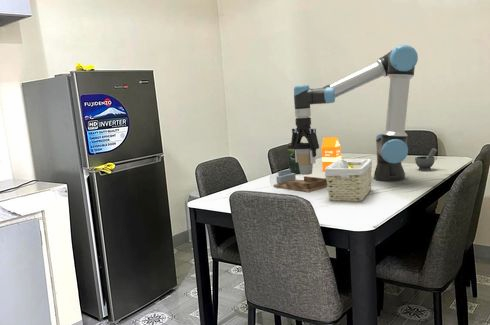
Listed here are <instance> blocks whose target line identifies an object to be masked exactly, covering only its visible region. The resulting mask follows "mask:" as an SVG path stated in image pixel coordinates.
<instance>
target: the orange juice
mask: <svg viewBox="0 0 490 325" xmlns="http://www.w3.org/2000/svg"><path fill="white" fill-rule="evenodd" d="M341 148H342V147H341V143H340V141H339V139H338V137H337V136H329V137H328V136H327V137H326V136H325V137H323V139H322V144H321V148H320V149H321V163H322V172H324V173H325V168H326V167H327V166H329V165H331V164H332V163H334V162H335V161H337V160H339V159H342V149H341Z"/></svg>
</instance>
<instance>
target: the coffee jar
mask: <svg viewBox="0 0 490 325" xmlns="http://www.w3.org/2000/svg"><path fill="white" fill-rule="evenodd" d="M300 143H304V142H302V141H301V142H300ZM287 152H288V157H289V160H288V161H289V164H288V169H291V173H295V175H301V174H300V169H299V165H298V162H296V159H295V155H294V149H293V148H291V142H289V143H288V144H287Z"/></svg>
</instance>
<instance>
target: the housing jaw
mask: <svg viewBox="0 0 490 325" xmlns="http://www.w3.org/2000/svg"><path fill="white" fill-rule="evenodd" d="M277 173H278V174H277V175H278V176H276V184H282V183H286V181H294V180H296V179H297V178H296V174H295V173H291V169H289V168H288V169H283V170H282V169H281V170H280V171H277Z"/></svg>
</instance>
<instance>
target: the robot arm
mask: <svg viewBox="0 0 490 325" xmlns="http://www.w3.org/2000/svg"><path fill="white" fill-rule="evenodd" d="M418 58H419V57H418V52H417V51H416V49H415V47H413V46H412V45H408V44H402V45H397V46H396V47H394V48H393V49H391V50H390V51H389V52H388V53H386V54H384V55H383V56H381V57H378V58H377V60H376V62H373V63H371V64H368V65H367V66H365V67H363V68H360V69H358V70H357V71H355V72H352V73H350V74H348V75H346V76H344V77H342V78H340V79H338V80H336V81H333V82H331V83H328V84H327V85H325V86H323V87H320V88H319V87H318V88H310V85H309V84H302V85H295V86H294V87H293V100H294V114H295V115H294V116H295V126H296V127H295V128H292V129H291V133H292V134H291V142H290V143H291V148H293V149H294V155H295V159H296V162H298V158H297V150H296V149H295V147H296V144H299V143H300V142H302V139H303V138H305V139H306V141H307V143H309V145H310V148H311V150H310V158H311V164H313V165H314V164H316V160H317V159H316V157H317V150H318V149H320V144H319V140H318V135H317V129H316V128H312V127H311V126H312V118H311V116H312V114H311V105H325V104H328V105H329V104H333V103H335V102H336V98H338V97H340V96H342V95H345V94H347V93H349V92H351V91H353V90H355V89H357V88H359V87H362V86H364V85H366V84H369V83H371V82H372V81H374V80H377V79H379V78H382V77H385V78H386V77H388V78H389V89H388V100H387V109H386V122H385V130H384V131H383V132H382V133H380V134H377V135H376V137H375V138H376V139H375V142H376V143H375V144H376V167H375V170H374V173H373V179H374V180H376V181H381V182H394V181H402V180H404V179H406V173H405V170H404V166H403V165H402V162H403V161H404V160H405V159H406V158H407V156H408V154H409V149H408V134H407V133H406V131H405V129H406V121H407V111H408V104H409V102H408V101H409V100H408V99H409V89H410V82H411V79H413V78H414V77H415V68H416V67H415V66H417V64H418V60H419V59H418Z"/></svg>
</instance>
